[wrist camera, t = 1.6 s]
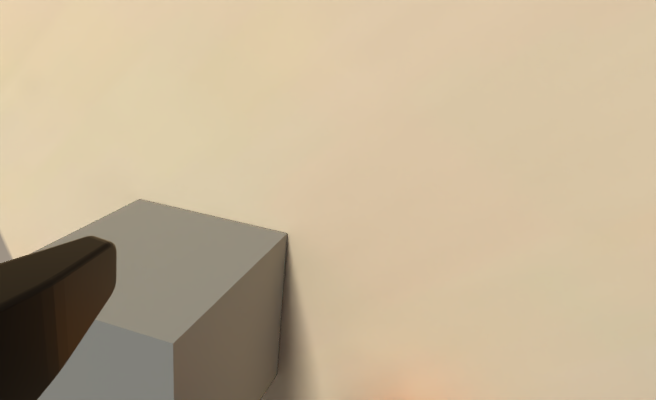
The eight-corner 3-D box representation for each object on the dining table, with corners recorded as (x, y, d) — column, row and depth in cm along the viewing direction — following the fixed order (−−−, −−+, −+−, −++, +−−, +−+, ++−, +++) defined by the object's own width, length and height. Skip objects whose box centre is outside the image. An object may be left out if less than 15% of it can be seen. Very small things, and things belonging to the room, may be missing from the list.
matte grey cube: (277, 374, 27) (175, 526, 19) (144, 333, 29) (2, 455, 21) (287, 233, 24) (172, 343, 16) (139, 199, 26) (-27, 282, 18)
